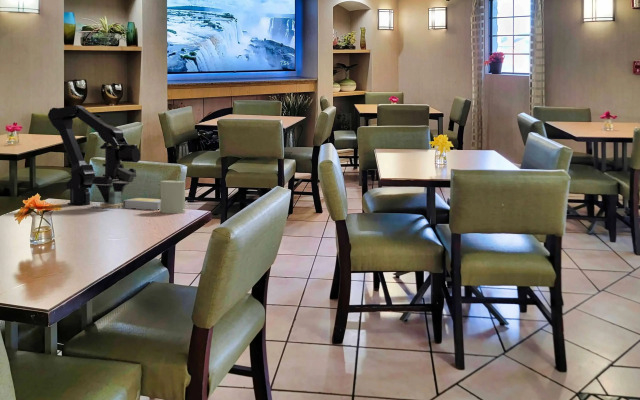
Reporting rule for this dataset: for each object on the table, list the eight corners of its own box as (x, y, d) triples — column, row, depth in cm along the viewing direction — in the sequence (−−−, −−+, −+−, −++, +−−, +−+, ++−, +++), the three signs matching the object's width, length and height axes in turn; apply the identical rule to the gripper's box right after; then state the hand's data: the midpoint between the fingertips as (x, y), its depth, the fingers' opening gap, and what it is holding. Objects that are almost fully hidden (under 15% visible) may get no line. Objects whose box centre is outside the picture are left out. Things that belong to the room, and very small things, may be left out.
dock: (123, 207, 228) (123, 199, 228) (138, 205, 239) (138, 197, 239) (157, 210, 225) (157, 202, 225) (170, 207, 236) (170, 199, 236)
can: (188, 211, 227) (189, 180, 225) (180, 214, 217) (181, 181, 216) (165, 210, 227) (165, 178, 226) (156, 212, 218) (156, 180, 217)
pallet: (100, 207, 227) (100, 191, 227) (108, 205, 233) (108, 190, 233) (116, 208, 226) (116, 192, 225) (124, 207, 232) (125, 191, 231)
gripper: (119, 162, 217) (118, 205, 219) (144, 161, 235) (143, 200, 237) (91, 161, 219) (91, 203, 221) (118, 160, 238) (118, 199, 239)
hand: (112, 201), depth 229 cm, fingers open, 8 cm apart
